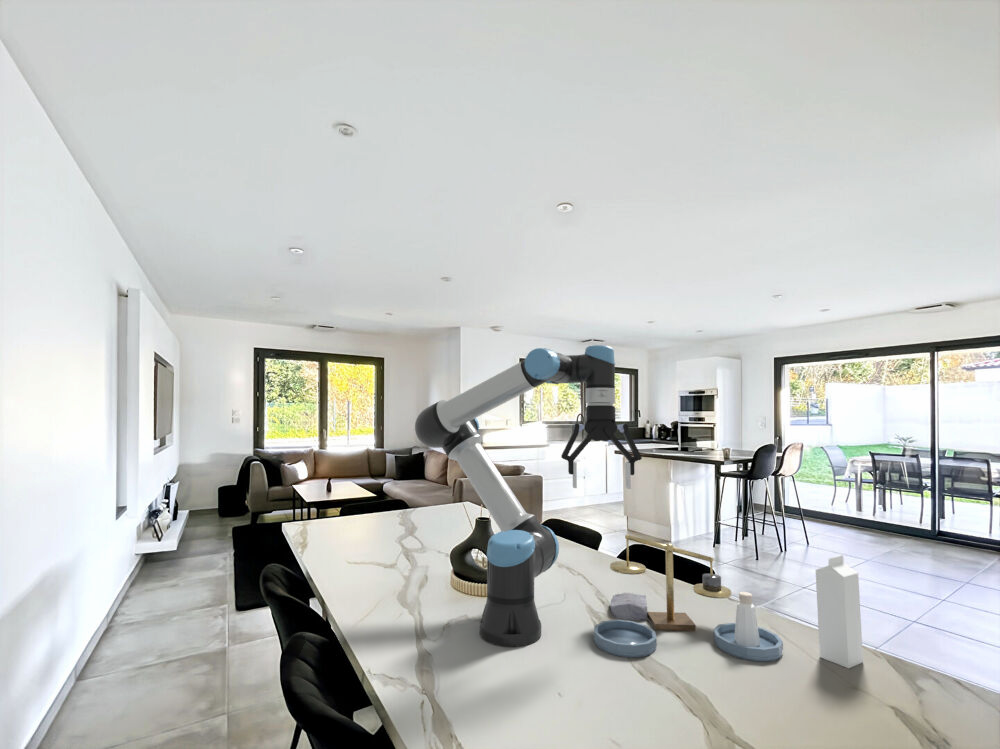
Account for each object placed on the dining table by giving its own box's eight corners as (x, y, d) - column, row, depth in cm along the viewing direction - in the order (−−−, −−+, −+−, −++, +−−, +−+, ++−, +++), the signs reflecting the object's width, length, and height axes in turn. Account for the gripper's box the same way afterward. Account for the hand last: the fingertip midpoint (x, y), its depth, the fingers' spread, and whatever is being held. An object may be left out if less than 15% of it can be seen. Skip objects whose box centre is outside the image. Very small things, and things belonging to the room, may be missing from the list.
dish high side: (582, 643, 117) (582, 632, 117) (613, 626, 127) (613, 615, 127) (638, 663, 108) (637, 651, 108) (666, 642, 118) (666, 631, 118)
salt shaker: (732, 644, 115) (731, 594, 116) (735, 635, 120) (734, 588, 121) (759, 650, 112) (757, 599, 113) (761, 641, 117) (759, 592, 118)
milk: (863, 662, 109) (858, 558, 111) (848, 669, 106) (844, 562, 108) (833, 651, 114) (829, 551, 116) (818, 657, 111) (814, 555, 113)
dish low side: (705, 647, 116) (705, 635, 116) (726, 629, 126) (726, 618, 126) (772, 668, 106) (771, 655, 106) (789, 646, 116) (788, 634, 117)
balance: (614, 630, 125) (613, 538, 127) (608, 616, 134) (607, 530, 136) (738, 633, 123) (735, 540, 125) (724, 618, 132) (721, 532, 134)
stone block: (612, 625, 132) (651, 621, 130) (608, 606, 133) (646, 602, 131) (613, 610, 144) (648, 606, 142) (609, 593, 145) (644, 588, 143)
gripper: (553, 404, 127) (553, 489, 126) (652, 404, 126) (654, 490, 124) (551, 405, 135) (551, 485, 133) (645, 405, 134) (646, 486, 132)
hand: (601, 488), depth 129 cm, fingers open, 13 cm apart
